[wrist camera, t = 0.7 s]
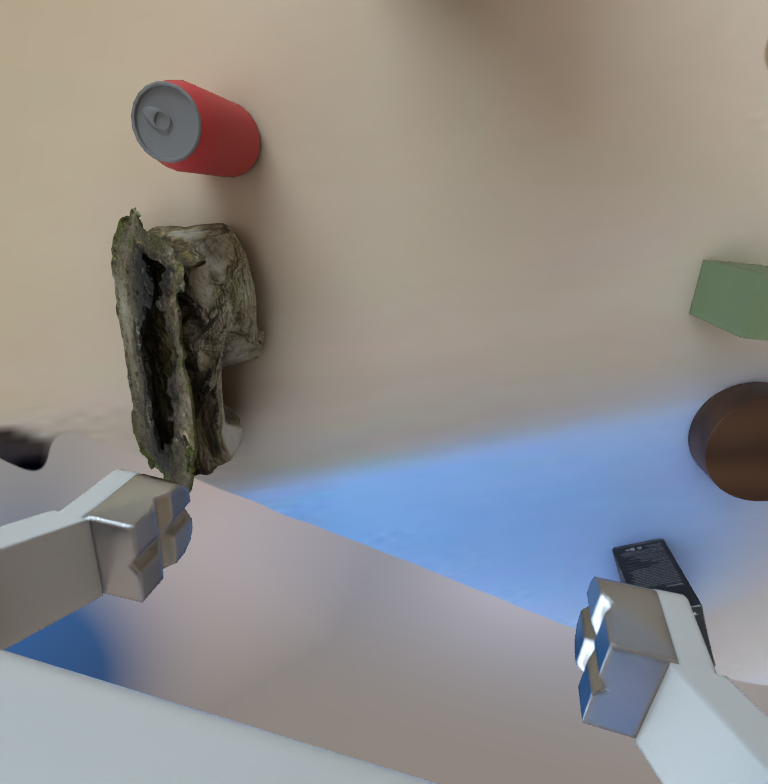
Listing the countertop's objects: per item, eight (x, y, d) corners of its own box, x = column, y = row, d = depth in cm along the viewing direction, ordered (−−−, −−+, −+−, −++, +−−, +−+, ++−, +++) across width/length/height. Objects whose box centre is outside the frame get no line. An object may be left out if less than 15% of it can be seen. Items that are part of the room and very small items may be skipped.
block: (703, 260, 49) (761, 273, 40) (760, 264, 49) (832, 278, 39) (688, 313, 51) (741, 337, 41) (744, 318, 50) (809, 344, 41)
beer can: (212, 88, 50) (140, 54, 38) (273, 125, 50) (220, 102, 39) (187, 155, 52) (112, 142, 41) (246, 190, 52) (188, 186, 41)
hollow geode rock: (232, 440, 67) (285, 503, 56) (123, 461, 60) (160, 537, 49) (238, 210, 57) (304, 232, 46) (106, 199, 49) (148, 223, 39)
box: (610, 547, 60) (640, 615, 50) (662, 537, 59) (704, 604, 49) (624, 602, 62) (656, 677, 52) (675, 593, 61) (718, 668, 51)
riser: (704, 376, 52) (723, 389, 49) (823, 388, 51) (852, 402, 48) (676, 474, 56) (691, 493, 52) (786, 487, 55) (810, 508, 51)
